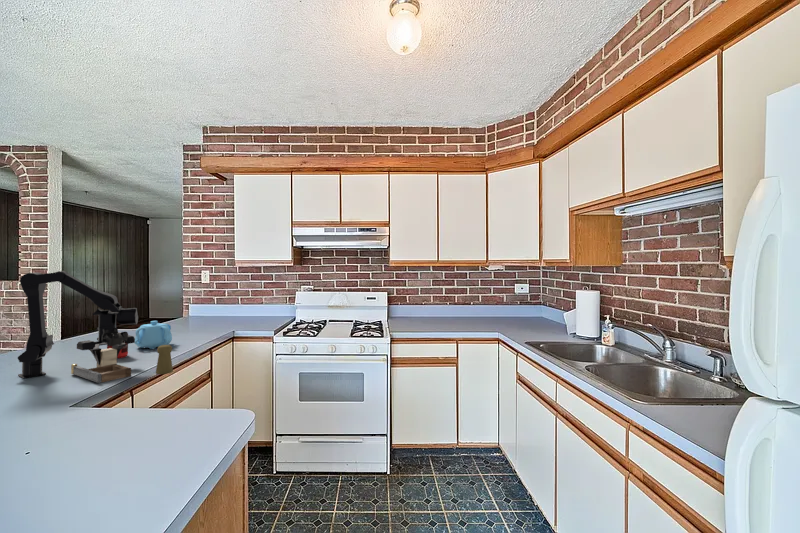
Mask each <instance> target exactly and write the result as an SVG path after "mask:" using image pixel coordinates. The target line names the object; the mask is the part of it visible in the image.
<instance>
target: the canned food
mask: <svg viewBox="0 0 800 533" xmlns="http://www.w3.org/2000/svg"><path fill="white" fill-rule="evenodd" d="M121 332H122V331H120V332H119V331H118V333H121ZM125 344H126V346H124V347H123V348H122V349H121V350H120V352H119V354H118V357H117V358H118V359H124V358H126V356H127V357H128V355H129V344H127V343H125ZM109 348H112V346H109V345H108V344H107V345H106V349H109Z"/></svg>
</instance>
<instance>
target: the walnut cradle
mask: <svg viewBox="0 0 800 533" xmlns="http://www.w3.org/2000/svg"><path fill="white" fill-rule="evenodd" d="M88 369H89V370H92V371H95V372H98V373H101V382H100V383H105V382H106V383H107V382H110V381H114V380H119V379H123V378H128V377H131V376H132V368H131V367H128V366H124V365H121V364H118V363H117V364H112V365H107V366H102V367H97V366H96V367H93V368H88Z"/></svg>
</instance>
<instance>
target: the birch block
mask: <svg viewBox="0 0 800 533" xmlns="http://www.w3.org/2000/svg"><path fill="white" fill-rule="evenodd" d="M100 357H101V363H100V365H98V363H97V362H96V367H102V366H107V365H112V364H118V362H117V361H118V359H117V350H116V349H112V348H109V349H107V348H104V349H103V348H101V351H100Z"/></svg>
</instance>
